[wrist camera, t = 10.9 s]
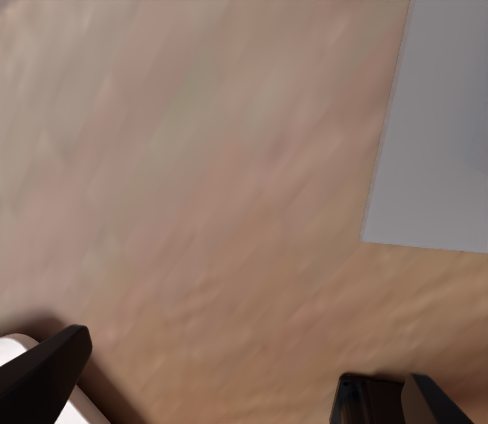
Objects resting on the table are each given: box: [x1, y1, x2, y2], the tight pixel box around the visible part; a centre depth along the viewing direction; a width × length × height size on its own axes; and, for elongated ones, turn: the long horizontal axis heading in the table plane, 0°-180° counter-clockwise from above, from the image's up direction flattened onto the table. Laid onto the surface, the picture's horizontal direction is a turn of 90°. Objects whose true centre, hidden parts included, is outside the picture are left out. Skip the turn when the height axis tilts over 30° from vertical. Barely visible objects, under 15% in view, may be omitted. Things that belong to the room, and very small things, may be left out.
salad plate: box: [0, 333, 111, 424], centre depth 32 cm, size 21×21×3 cm
